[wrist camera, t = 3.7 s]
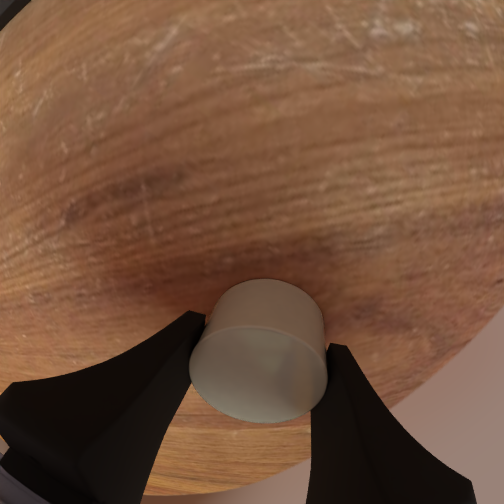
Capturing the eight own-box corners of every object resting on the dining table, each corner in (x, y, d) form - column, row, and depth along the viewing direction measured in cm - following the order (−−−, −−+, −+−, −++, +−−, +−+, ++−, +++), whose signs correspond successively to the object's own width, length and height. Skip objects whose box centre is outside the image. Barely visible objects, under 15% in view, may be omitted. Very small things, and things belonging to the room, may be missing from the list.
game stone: (339, 292, 11) (348, 344, 8) (306, 378, 12) (304, 432, 10) (219, 265, 11) (192, 309, 8) (206, 355, 13) (185, 406, 10)
